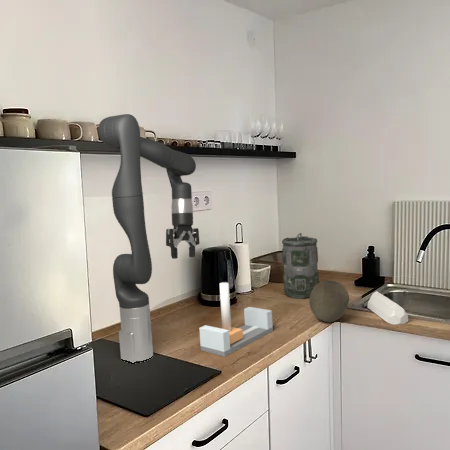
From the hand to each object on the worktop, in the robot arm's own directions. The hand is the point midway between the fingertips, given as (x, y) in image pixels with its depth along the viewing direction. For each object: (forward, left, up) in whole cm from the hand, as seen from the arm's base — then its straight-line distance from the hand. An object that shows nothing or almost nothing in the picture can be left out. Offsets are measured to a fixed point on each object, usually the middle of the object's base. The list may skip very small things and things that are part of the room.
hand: (183, 257), depth 164 cm
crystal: (+53, -52, -28) cm, 80 cm away
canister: (+65, -9, -28) cm, 71 cm away
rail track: (+4, -20, -28) cm, 34 cm away
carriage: (-2, -20, -26) cm, 33 cm away
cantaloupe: (+37, -37, -28) cm, 59 cm away
